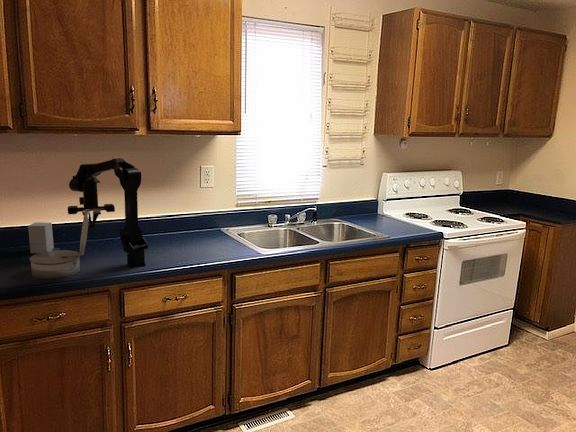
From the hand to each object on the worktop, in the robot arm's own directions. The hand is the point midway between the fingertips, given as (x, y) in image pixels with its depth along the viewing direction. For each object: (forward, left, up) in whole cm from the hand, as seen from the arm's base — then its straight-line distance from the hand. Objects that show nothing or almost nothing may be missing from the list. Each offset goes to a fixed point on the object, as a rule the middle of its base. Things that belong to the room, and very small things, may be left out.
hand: (92, 228), depth 208 cm
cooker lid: (+4, +21, +3) cm, 21 cm away
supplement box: (+21, -12, -12) cm, 27 cm away
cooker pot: (+15, +17, -12) cm, 25 cm away
